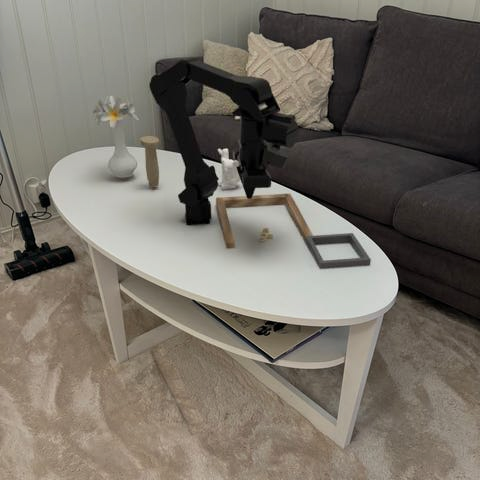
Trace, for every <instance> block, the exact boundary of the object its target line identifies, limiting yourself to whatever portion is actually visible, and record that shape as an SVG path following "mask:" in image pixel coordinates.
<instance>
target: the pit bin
mask: <svg viewBox="0 0 480 480" xmlns="http://www.w3.org/2000/svg"><path fill="white" fill-rule="evenodd" d="M334 244H335V245H336V244H337V245H338V244H349V245H350V246H351V247H352V249H353V250H354V252H355V253H356V254H357V256H358V257H355V258H354V257H353V258H352V257H351V258H340V259H329V260H328V259H327V260H326V259H325V260H324V258H323V256H322V255H321V253H320V251H319V249H318V247H317V246H321V245H334ZM305 245H306V246H307V249H308V250H309V252H310V254H311V255H312V257H313V259H314V261H315V262H316V264H317V266H318V268H319V269H334V268H349V267H352V268H353V267H363V266H366V267H367V266H371V261H372V260H371V258H370V256H369V254H368V253H367V251H366V250H365V249H364V247H363V246H362V244H361V243H360V242H359V239H357V237H356V236H355V235H354V233H353V232H348V233H346V232H345V233H334V234H321V235H319V234H318V235H313V236H307V237H306V243H305Z"/></svg>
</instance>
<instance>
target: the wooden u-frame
mask: <svg viewBox="0 0 480 480" xmlns="http://www.w3.org/2000/svg"><path fill="white" fill-rule="evenodd" d="M282 205H283V206H285V208H286V210H287V213H288V214H289V216H290V218H291V219H292V221H294V222H293V224H294V225H295V227H296V228H298V229H297V230H298V232H299V234H300V236H301V238H302V237H303V238H302V239H303V241H304V243H305V244H306V237H307V236H314V235H313V233H312V231H311V229H310V226H309V225H308V223H307V221H306V219H305V218H304V216H303V214H302V213H301V210H300V209H299V207H298V204H297V203H296V201H295V199H294V198H293V195H292V194H291V193H273V194H259V195H258V194H257V195H253V196H252V198H251V199H247V196H246V195H241V196H237V195H236V196H222V197H221V196H220V197H215V206H216V211H217V215H218V219H219V223H220V227H221V231H222V235H223V239H224V243H225V246H226V249H235V248H236V243H235V239H234V238H235V237H234V235H233V230H232V227H231V224H230V218H229V215H228V211H227V209H232V208H248V207H265V206H282Z"/></svg>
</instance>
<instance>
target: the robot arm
mask: <svg viewBox="0 0 480 480" xmlns="http://www.w3.org/2000/svg"><path fill="white" fill-rule="evenodd" d="M192 81H193V82H196V83H198V84H201V85H203V86H205V87H206V88H210V89H212V90H215V91H217V92H218V93H219V92H220V93H221V94H224V95H226V96H228V97H229V99H230V100H231V101H232V102H233V104H235V105H237V106H238V107H237V108H236V109H234V110H233V111H232V113H231V115H232V116H235V117H236V116H237V117H239V118H240V119H239V121H240V122H239V123H240V124H239V137H238V139H237V141H238V145H237V146H235V147H234V148H233V149H232V158H233V159H232V160H233V161H235V160H236V161H238V162H239V166H237V167H236V169H237V171H238V174H239V177H240V183H241V185H242V188H243V191H244V193H245V196H247V199H251V198H252V196H254V193H255V192H256V189H269V188H271V187H272V177H271V175H270V173H269V171H268V170H267V169H265V167H267V166H268V165H270V166H273V167H276V168H278V169H280V170H284V168H285V166H286V164H287V162H288V160H289V155H288V153H287V152H286V151H285V150H284V149H283V148H281V147H284V148H288V149H291V148H293V147H294V146H295V144H296V142H297V140H298V139H299V138H298V137H299V133H300V128H299V125H298V122H297V121H296V116H295V115H293V114H285V113H281V108H280V105H279V104H278V102H277V101H278V100H276V97H275V96H274V94H273V90H272V86H271V85H270V82H269V81H268V80H267V79H265V78H262V77H256V76H249V75H247V76H246V75H237V74H234V73H231V72H229V71H226V70H223V69H221V68H219V67H217V66H216V67H215V66H214V65H211V64H210V63H209V64H208V63H206V62H203V61H201V60H199V59H198V58H197V57H193V56H192V57H188V58H183V59H180V60H179V61H178V62H177V63H175V64H174V65H173V66H171V67H169V68H168V69H166V70H164V71H163V72H160V73H156V74H154V75H153V76H152V77H151V78H150V82H149V83H148V84H149V86H148V87H149V90H150V92H151V95H152V96H153V99H154V101H155V103H156V104H157V105H158V106H159V107H160V108H161V109H162V110H163V111H164V112H165V114H166V116H167V119H168V121H169V124H170V128H171V130H172V132H173V135H174V138H175V141H176V144H177V147H178V151H179V153H180V156H181V159H182V161H183V165H184V177H183V183H184V187H185V188H184V189H183V190H182V191H181V192H180V193H178V195H177V197H178V201H179V203H181V204H183V205H184V208H185V212H184V215H185V216H184V217H185V225H186V226H196V225H197V226H198V225H199V226H200V225H210V224H211V219H212V203H211V201H210V200H209V198H211V197H213V196H214V193H215V192H216V191H217V190H218V187H219V185H218V184H219V182H218V181H219V180H220V178H219V177H218V175H217V172H216V167H215V166H214V165H208V164H207V163H206V162H205V161H204V159H203V155H202V152H201V150H200V146H199V144H198V140H197V137H196V134H195V131H194V128H193V126H192V123H191V119H190V116H189V114H188V110H187V108H186V107H187V106H186V103H187V95H188V92H187V86H186V85H188V83H191V82H192ZM262 106H266V107H263V108H260V107H262ZM267 143H268V144H267Z"/></svg>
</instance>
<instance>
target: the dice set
mask: <svg viewBox="0 0 480 480" xmlns="http://www.w3.org/2000/svg"><path fill="white" fill-rule="evenodd" d="M269 231H270V230H269V228H267V227H264V228H263V229H262V231H261V232H260V235H261V237H259V239H258V240H259V242H260V243H264V242H265V238H264V237H265V236H266V238H267V239H268V240H272V239H273V238H274V236H273V234H271V233H269Z"/></svg>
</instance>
